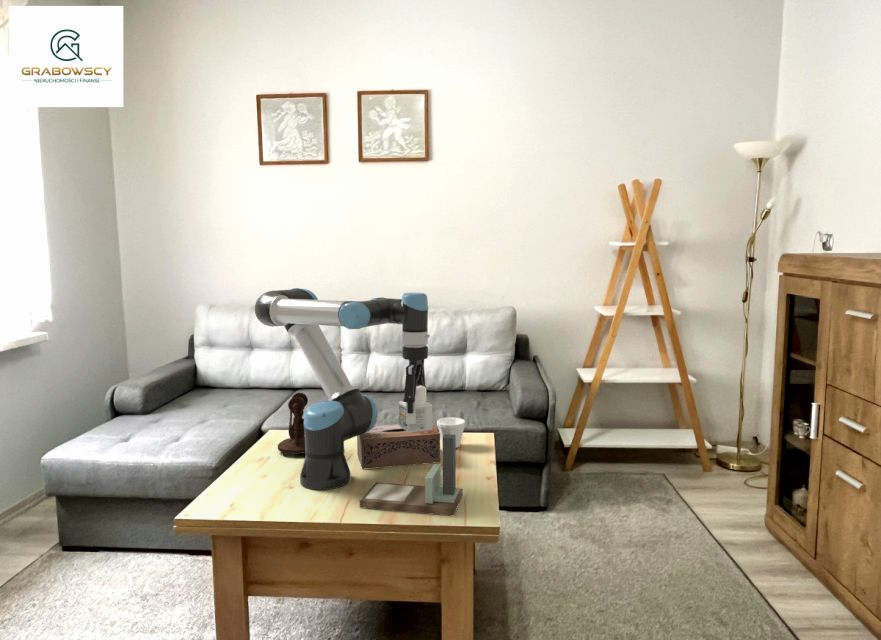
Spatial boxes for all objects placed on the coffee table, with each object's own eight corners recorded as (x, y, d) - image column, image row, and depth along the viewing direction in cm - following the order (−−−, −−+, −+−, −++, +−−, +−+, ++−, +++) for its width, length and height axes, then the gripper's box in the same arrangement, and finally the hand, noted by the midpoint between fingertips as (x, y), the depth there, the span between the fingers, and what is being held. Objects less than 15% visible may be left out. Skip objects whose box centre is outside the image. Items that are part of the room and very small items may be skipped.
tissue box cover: (430, 449, 223) (430, 421, 222) (440, 463, 209) (440, 433, 208) (357, 455, 217) (356, 427, 216) (361, 469, 203) (361, 439, 202)
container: (398, 426, 191) (398, 384, 190) (421, 423, 195) (421, 381, 193) (408, 433, 185) (408, 389, 183) (432, 429, 188) (432, 386, 186)
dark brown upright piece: (282, 444, 228) (280, 390, 226) (323, 443, 229) (322, 389, 227) (274, 458, 214) (271, 400, 211) (318, 457, 215) (316, 399, 212)
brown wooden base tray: (359, 507, 173) (359, 500, 173) (375, 488, 187) (375, 481, 186) (453, 515, 167) (453, 507, 167) (462, 495, 181) (462, 488, 181)
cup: (436, 450, 221) (436, 425, 219) (437, 442, 230) (437, 417, 229) (465, 451, 220) (465, 425, 219) (465, 442, 230) (465, 417, 229)
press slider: (425, 503, 170) (424, 440, 168) (434, 487, 181) (433, 429, 179) (452, 505, 169) (452, 442, 167) (460, 489, 179) (459, 430, 177)
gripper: (419, 352, 175) (419, 430, 177) (435, 339, 197) (435, 409, 200) (392, 351, 176) (393, 428, 179) (411, 339, 199) (412, 408, 201)
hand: (415, 418), depth 189 cm, fingers closed on container, 10 cm apart
